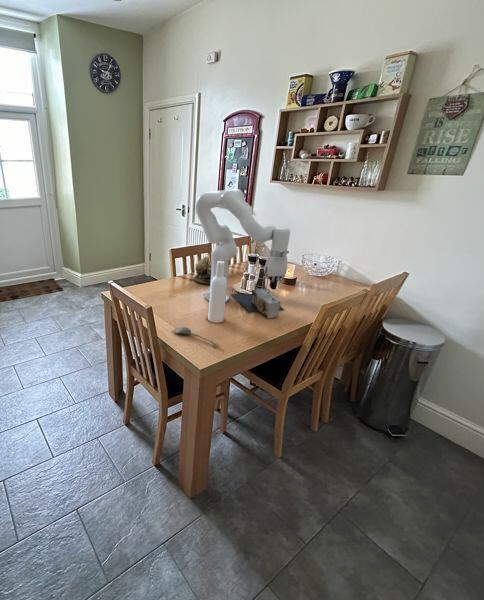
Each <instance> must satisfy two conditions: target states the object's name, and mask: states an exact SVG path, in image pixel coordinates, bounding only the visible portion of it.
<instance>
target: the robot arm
mask: <svg viewBox="0 0 484 600" xmlns="http://www.w3.org/2000/svg"><path fill="white" fill-rule="evenodd" d="M220 207H221V208H222V207H225V208H226V209H227V210H228V211H229V212H230V213H231V214H232V215H233V216H234V217H235V218H236V219H237V220H238V221H239V223H240V226H241V227H242V229H243V232H245V233H246V235H248V236H249V238H251V239H252V240H253V241H254V242H256V243H259V244H264V243H266V242H268V241H269V242H270V241H271V246H270V253H269V254H268V255H267V258H266V261H265V265H264V269H263V274H264V277H263V278H265V279H266V280H269V288H270V289H271V290H273V291H274V290H276V289H277V286H278V283H279V281H280V280H281V279H284V278H285V277H286V274H287V270H288V254H290V250H288V249H289V242H290V236H291V229H290V228H288V227H284V226H276V225H273V224H265V225H261V224H260V223H259V222H258V221H257V220H256V219H255V218H254V216H253V206H251V204H249V203H248V202H246V200H245V194H244V193H243V190H241V189H239V188H233V189H223V190H213V191H206V192H204V193H203V192H202V193H201V194H199V196H198V197H197V199H196V201H195V204H194V208H195V209H194V210H195V214H196V216H197V218H198V220H199V222H200V225H201V227H202V230H203V233H204V235H205V238H206V240H207V242H208V243H210V244H211V245H215V244H218V245H216V246H214V247H213V249H212V251H211V252H210V261H211V262H212V268H211V281H212V279H213V277H215V276H216V268H217V265H216V264H217V262H218V261H223V262H225V266H224V277H225V278H226V280H227V284H228V281H229V271H230V267H229V260H232V259H234V258H235V257H236V256H237V253H238V247H237V243H236V241H235V238H234V236H233V234H232V231H231V229H230V228H229V227H228V225H227V224H225V223H219V222H218V220H217V217H216V215H215V213H214V212H213V211H212V209H215V208H220ZM210 287H211V282H210V285H209V288H210ZM227 292H228V290H227V291H226V301H225V303H228V301H229V298H230V297H229V296H228V295H227ZM200 295H201V297H204V298H206V300H208V301H209V299H210V289H209V290H207V291H206V292H205V291H204V292H201V294H200Z"/></svg>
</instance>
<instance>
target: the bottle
mask: <svg viewBox="0 0 484 600" xmlns="http://www.w3.org/2000/svg"><path fill="white" fill-rule="evenodd" d="M216 265H217V268H216V276H215V277H213V279H212V281H211V287H210V286H209V290H210V299H209V300H208V313H207V320H208V321H209V322H212V323H217V324H218V323H219V324H220V323H222V322H223V321H224V320H225V319H224V318H225V309H226V302H225V301H226V295H227V293H226V291H227V292H228V283H227V280H226V278H225V277H224V266H225V262H223V261H218V262H217V264H216Z"/></svg>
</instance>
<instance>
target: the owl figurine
mask: <svg viewBox="0 0 484 600" xmlns="http://www.w3.org/2000/svg"><path fill="white" fill-rule="evenodd" d="M211 268H212V262H211V260H210V258H209V257H208V256H207V255H206V256H204V257H203V258H200V259H199V260H198V261H197V263H196V264H195V268H194V269H195V273H196V274H197V275H195V276H194V277H193V281H194V282H195V283H198V284H200V285H204V286H210V282H211Z"/></svg>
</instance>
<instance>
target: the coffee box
mask: <svg viewBox="0 0 484 600" xmlns="http://www.w3.org/2000/svg"><path fill="white" fill-rule="evenodd" d="M251 293H252V297H251V305H252V306H253V307H255V308H256V309H257V310H258V311H259V313H261V314H262V315H263V316H264V317H266V318H267V319H272V318H277V317H279V314H280V310H279V307H281V300H279V299H278V298H276V297H275V296H273V295H272V294H270V293H269V292H267V290H265V289H264V288H262V287H261V288H257V289H252V290H251Z"/></svg>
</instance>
